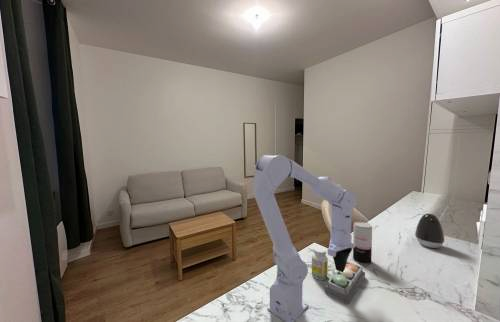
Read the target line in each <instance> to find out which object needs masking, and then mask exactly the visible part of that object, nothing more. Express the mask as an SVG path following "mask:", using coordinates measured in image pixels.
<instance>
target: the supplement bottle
mask: <svg viewBox="0 0 500 322" xmlns="http://www.w3.org/2000/svg"><path fill="white" fill-rule="evenodd" d="M326 254H327V250H326V249H325V248H324V247H321V246H317V247H316V246H315V247H314V248H313V253H312V254H311V276H312V277H313V278H314V279H316V280H319V281H325V280H326V279H327V278H328V263H329V261H328V255H326Z"/></svg>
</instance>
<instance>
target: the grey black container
mask: <svg viewBox="0 0 500 322" xmlns="http://www.w3.org/2000/svg"><path fill="white" fill-rule="evenodd" d="M352 233H353V234H352V237H353V239H352V241H353V242H352V243H353V244H355V247H354V248H352V258H353V260H354V261H355V262H356V261H357V262H356V263H358V262H359V263H358V264H360V263H361V265H370V264H371V263H372V256H373V255H372V251H373V247H372V245H373V226H372V224H370V223H368V222H365V221H355V222H354V223H353V231H352Z"/></svg>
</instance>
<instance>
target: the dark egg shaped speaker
mask: <svg viewBox="0 0 500 322" xmlns="http://www.w3.org/2000/svg"><path fill="white" fill-rule="evenodd" d="M444 234H445V233H444V229H443V225H442V223H441V222H440V220H439V218H438V217H437V216H436V215H435V214H432V213H424V214H423V215H422V216H421V217H420V218H419V221H418V223H417V226H416V228H415V234H414V235H415V238H416V240H417V242H418V243H419V244H420V245H421V246H423V247H426V248H429V249H437V248H441V247H442V245H444V242H445V235H444Z"/></svg>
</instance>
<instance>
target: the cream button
mask: <svg viewBox="0 0 500 322" xmlns="http://www.w3.org/2000/svg"><path fill="white" fill-rule="evenodd" d="M340 275H343V276H345V277H346V278H347V279H352V278H353V271H352V270H351V269H349V268H346V267H345V270H344V271H343V272H341V271H340Z"/></svg>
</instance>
